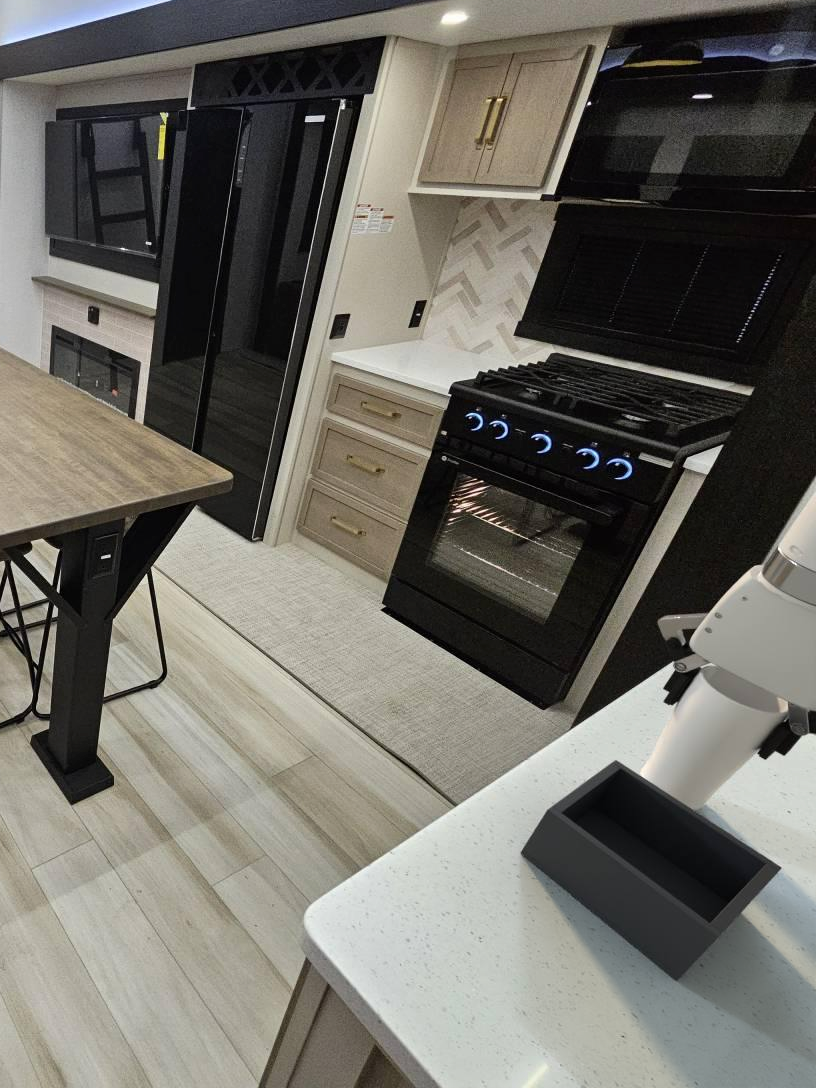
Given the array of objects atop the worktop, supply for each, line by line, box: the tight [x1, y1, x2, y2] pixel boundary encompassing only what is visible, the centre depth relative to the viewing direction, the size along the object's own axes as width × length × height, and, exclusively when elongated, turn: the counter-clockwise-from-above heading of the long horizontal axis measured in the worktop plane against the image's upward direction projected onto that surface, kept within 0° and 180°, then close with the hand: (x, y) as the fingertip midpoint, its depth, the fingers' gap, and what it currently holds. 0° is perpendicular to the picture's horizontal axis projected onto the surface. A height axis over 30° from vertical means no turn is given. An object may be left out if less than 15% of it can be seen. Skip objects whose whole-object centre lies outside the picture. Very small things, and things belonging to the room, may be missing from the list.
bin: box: [520, 759, 782, 982], centre depth 63 cm, size 13×13×7 cm
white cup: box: [639, 664, 789, 811], centre depth 70 cm, size 7×7×15 cm
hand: (718, 724), depth 68 cm, fingers closed on white cup, 6 cm apart
